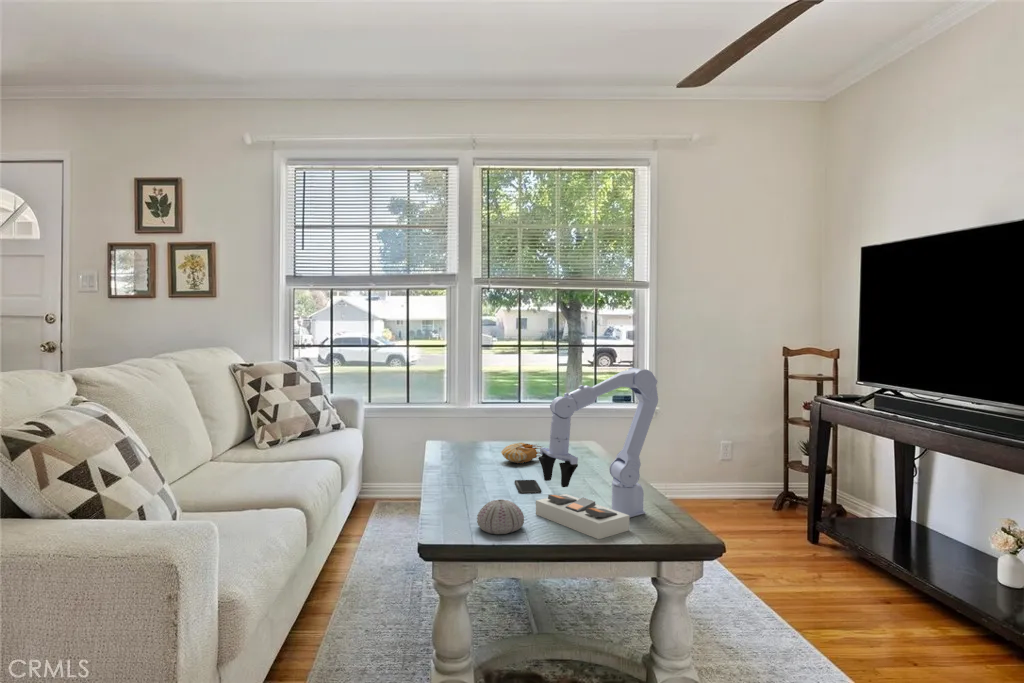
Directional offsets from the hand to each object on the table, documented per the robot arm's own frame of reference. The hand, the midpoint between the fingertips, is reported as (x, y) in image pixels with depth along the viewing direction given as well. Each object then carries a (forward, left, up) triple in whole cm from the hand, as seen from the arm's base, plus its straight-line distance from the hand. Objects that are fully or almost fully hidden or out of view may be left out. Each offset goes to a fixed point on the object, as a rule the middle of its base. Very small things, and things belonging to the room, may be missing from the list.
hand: (556, 483), depth 173 cm
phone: (-14, -30, -11) cm, 35 cm away
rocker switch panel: (-3, +8, -10) cm, 13 cm away
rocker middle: (-3, +8, -6) cm, 10 cm away
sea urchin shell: (+19, -1, -10) cm, 22 cm away
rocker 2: (-3, +16, -6) cm, 17 cm away
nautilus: (-38, -62, -10) cm, 73 cm away
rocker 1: (-3, 0, -6) cm, 6 cm away
